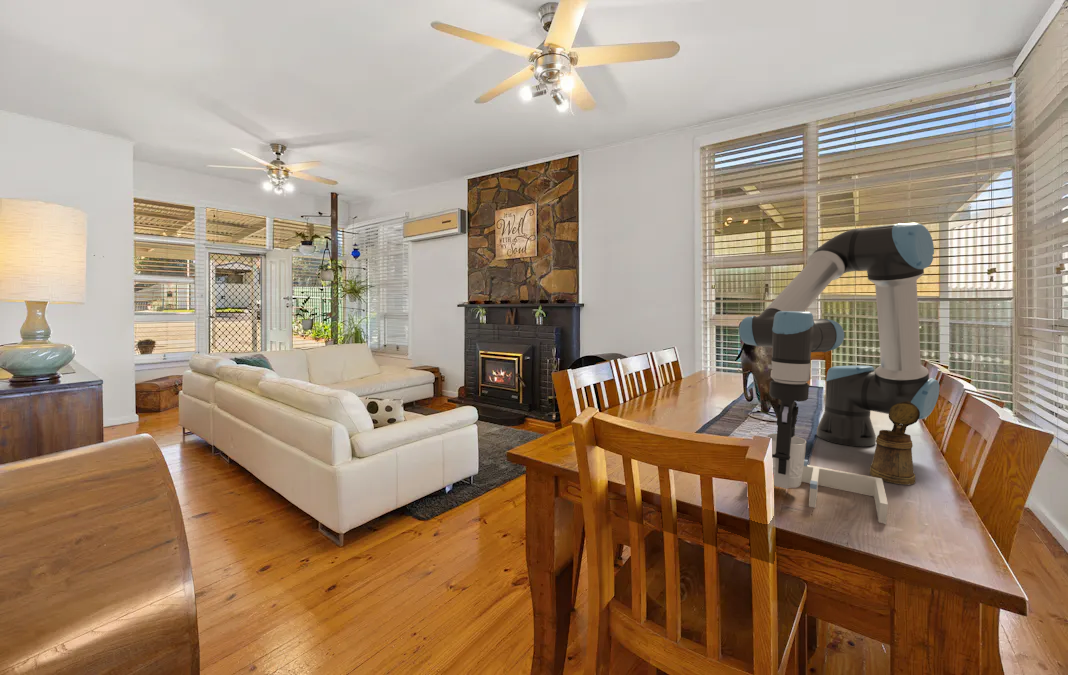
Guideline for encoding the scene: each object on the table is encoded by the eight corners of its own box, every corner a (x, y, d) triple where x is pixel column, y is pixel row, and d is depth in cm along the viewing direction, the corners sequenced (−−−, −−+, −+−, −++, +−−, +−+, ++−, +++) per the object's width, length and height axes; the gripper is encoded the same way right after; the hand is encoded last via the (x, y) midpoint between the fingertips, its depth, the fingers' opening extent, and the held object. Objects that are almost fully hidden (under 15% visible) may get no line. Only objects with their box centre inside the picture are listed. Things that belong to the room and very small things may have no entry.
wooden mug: (925, 474, 112) (931, 404, 110) (909, 488, 104) (915, 412, 102) (882, 464, 119) (887, 397, 117) (863, 476, 111) (868, 404, 109)
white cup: (770, 472, 107) (772, 431, 106) (808, 482, 101) (810, 438, 100) (758, 481, 101) (760, 438, 100) (797, 492, 96) (800, 446, 95)
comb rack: (758, 471, 113) (759, 451, 113) (880, 495, 100) (882, 473, 99) (747, 492, 101) (749, 470, 100) (886, 524, 87) (888, 498, 87)
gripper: (775, 372, 110) (770, 463, 112) (763, 386, 93) (758, 492, 95) (811, 376, 105) (805, 470, 107) (806, 390, 89) (799, 501, 91)
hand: (783, 480), depth 101 cm, fingers closed on white cup, 7 cm apart
